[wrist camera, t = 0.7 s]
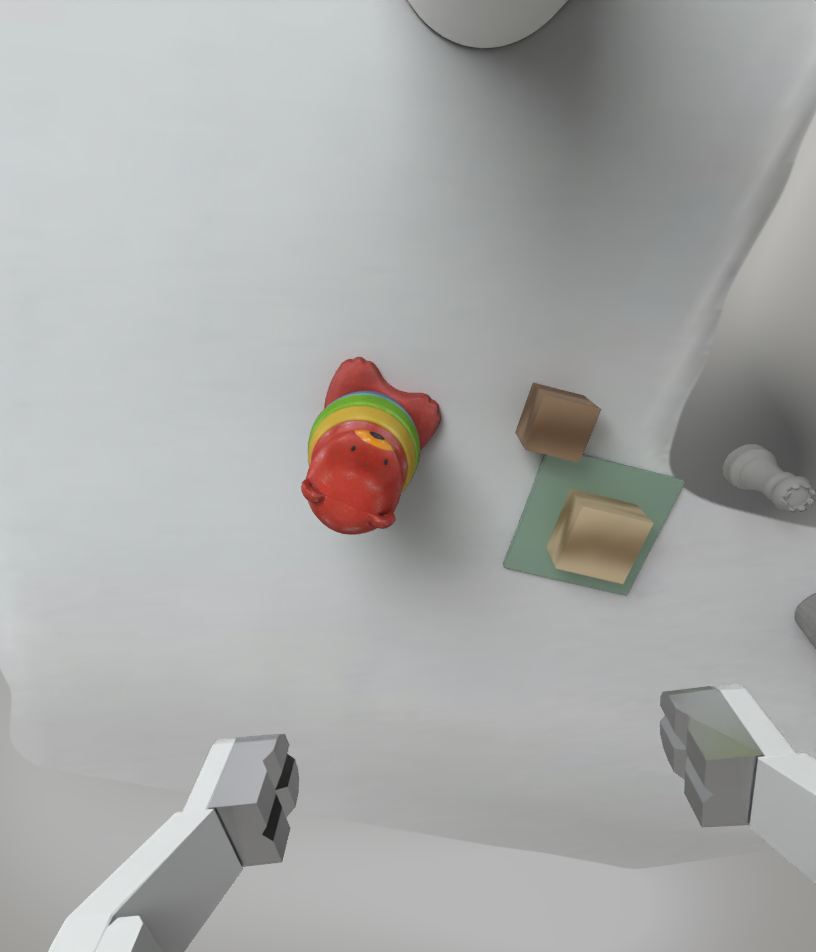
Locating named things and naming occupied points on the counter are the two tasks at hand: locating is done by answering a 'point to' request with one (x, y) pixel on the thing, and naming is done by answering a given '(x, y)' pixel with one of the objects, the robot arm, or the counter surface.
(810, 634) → the house plant
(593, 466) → the build pad
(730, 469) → the rook chess piece
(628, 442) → the counter surface
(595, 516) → the oak base block
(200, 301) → the counter surface
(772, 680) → the counter surface
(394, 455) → the stacking bear
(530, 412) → the walnut cube
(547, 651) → the counter surface
